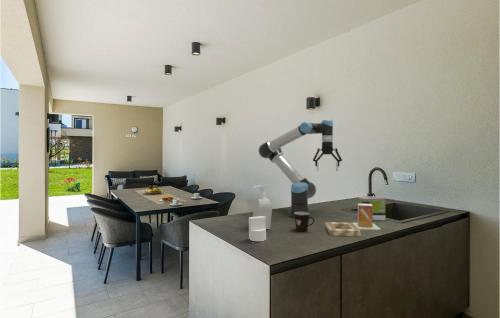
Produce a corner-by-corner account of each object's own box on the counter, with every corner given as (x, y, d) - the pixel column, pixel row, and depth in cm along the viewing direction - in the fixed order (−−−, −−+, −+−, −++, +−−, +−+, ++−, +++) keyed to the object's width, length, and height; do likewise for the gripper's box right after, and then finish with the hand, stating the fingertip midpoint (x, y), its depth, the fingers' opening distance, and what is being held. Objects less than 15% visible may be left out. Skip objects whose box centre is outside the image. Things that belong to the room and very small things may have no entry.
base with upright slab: (253, 243, 143) (253, 220, 143) (246, 238, 151) (246, 216, 151) (269, 241, 147) (268, 218, 146) (261, 236, 155) (261, 214, 155)
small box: (358, 226, 172) (358, 205, 171) (357, 223, 178) (357, 203, 177) (372, 227, 169) (372, 205, 169) (371, 224, 175) (371, 203, 175)
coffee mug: (291, 229, 169) (291, 212, 168) (303, 227, 172) (303, 211, 172) (302, 234, 158) (302, 216, 158) (315, 232, 161) (315, 215, 161)
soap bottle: (249, 226, 175) (249, 184, 174) (264, 225, 178) (264, 184, 178) (256, 232, 163) (256, 187, 163) (272, 230, 167) (272, 186, 166)
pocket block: (330, 235, 155) (330, 230, 155) (325, 226, 173) (325, 222, 173) (360, 236, 154) (360, 231, 154) (352, 227, 171) (352, 222, 171)
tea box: (380, 217, 197) (380, 196, 197) (385, 220, 187) (385, 198, 187) (357, 217, 199) (358, 195, 199) (362, 220, 189) (362, 198, 189)
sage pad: (355, 229, 167) (355, 228, 167) (350, 223, 181) (350, 222, 181) (380, 230, 166) (380, 229, 166) (373, 223, 180) (373, 223, 180)
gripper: (310, 141, 202) (310, 171, 202) (346, 141, 199) (346, 171, 199) (309, 141, 209) (309, 170, 210) (344, 141, 206) (344, 170, 207)
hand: (327, 171), depth 204 cm, fingers open, 13 cm apart
